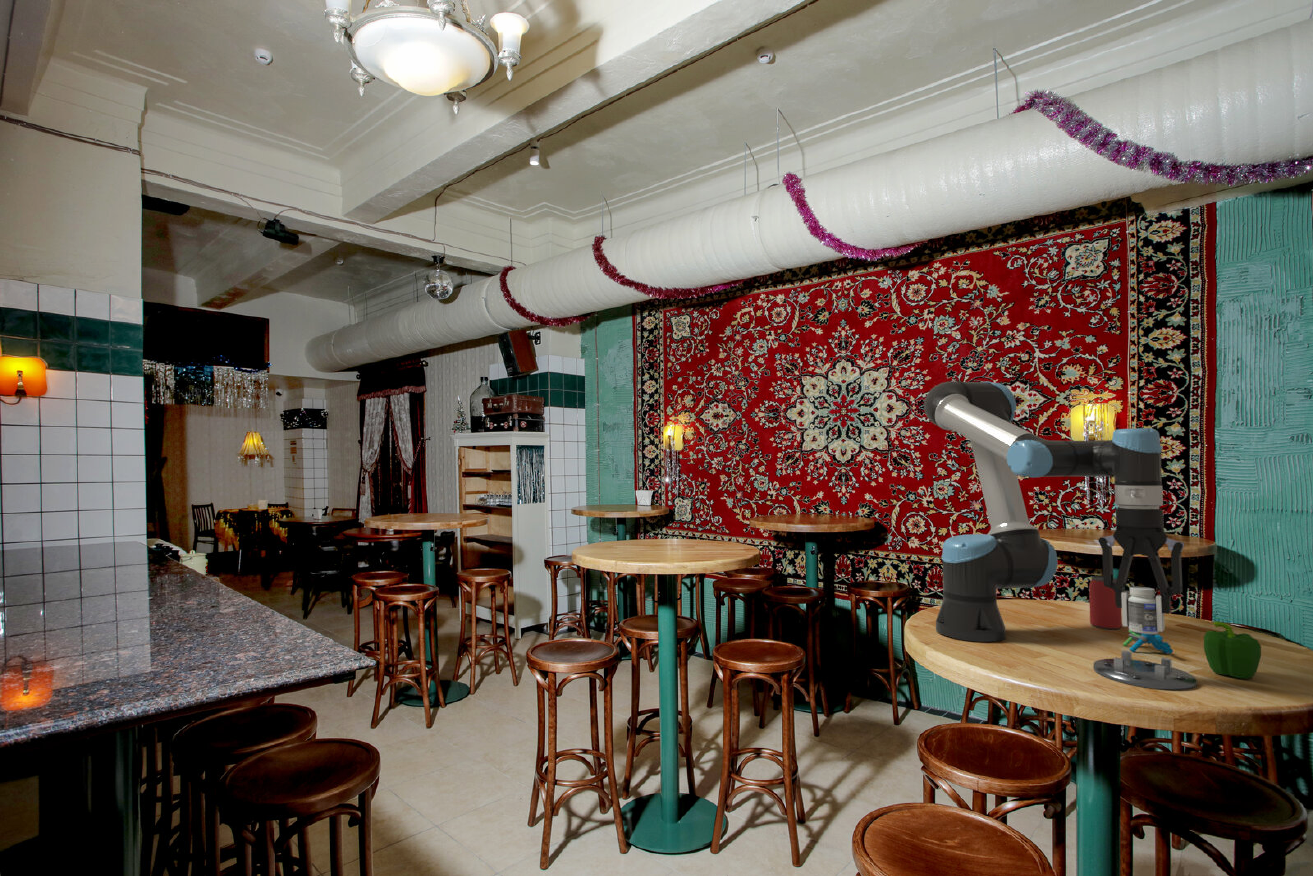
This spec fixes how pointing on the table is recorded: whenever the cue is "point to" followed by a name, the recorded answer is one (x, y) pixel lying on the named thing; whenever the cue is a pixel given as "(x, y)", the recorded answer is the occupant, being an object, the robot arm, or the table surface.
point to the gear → (1147, 641)
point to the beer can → (1103, 605)
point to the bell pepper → (1232, 652)
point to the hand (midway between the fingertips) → (1143, 627)
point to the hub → (1145, 673)
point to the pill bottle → (1142, 610)
